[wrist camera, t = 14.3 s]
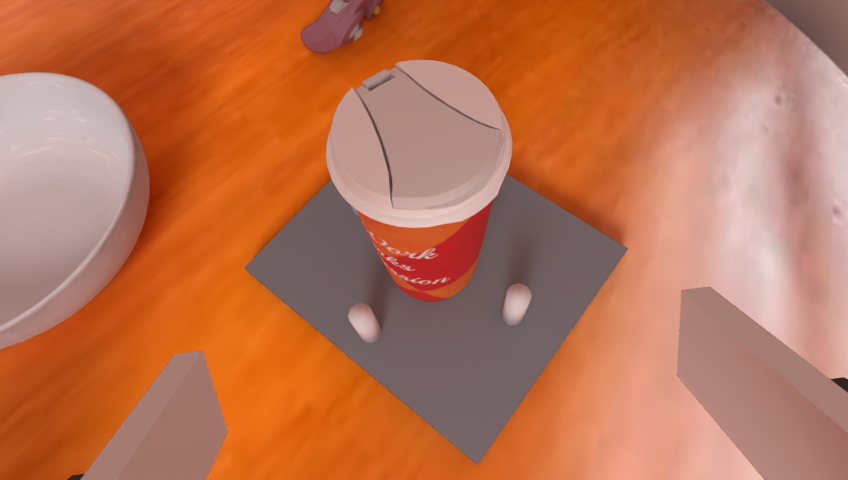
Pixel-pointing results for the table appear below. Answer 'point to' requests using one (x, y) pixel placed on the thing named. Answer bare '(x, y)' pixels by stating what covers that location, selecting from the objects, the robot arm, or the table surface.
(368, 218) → the coffee cup
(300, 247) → the plate
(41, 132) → the serving bowl
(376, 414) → the table surface
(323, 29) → the purple lumpy piece
